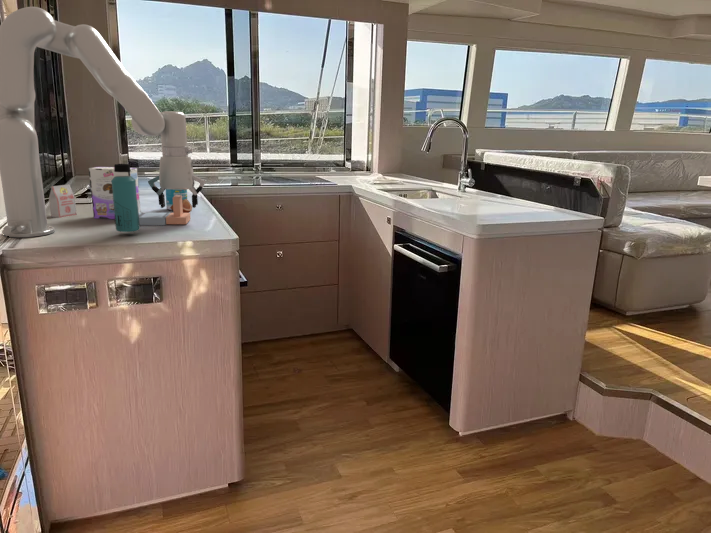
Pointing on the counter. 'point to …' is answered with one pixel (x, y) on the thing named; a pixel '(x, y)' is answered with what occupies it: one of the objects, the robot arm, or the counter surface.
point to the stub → (177, 212)
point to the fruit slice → (185, 206)
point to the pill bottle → (172, 192)
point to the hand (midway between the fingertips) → (178, 207)
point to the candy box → (107, 190)
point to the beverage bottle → (125, 200)
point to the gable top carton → (62, 201)
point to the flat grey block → (153, 218)
